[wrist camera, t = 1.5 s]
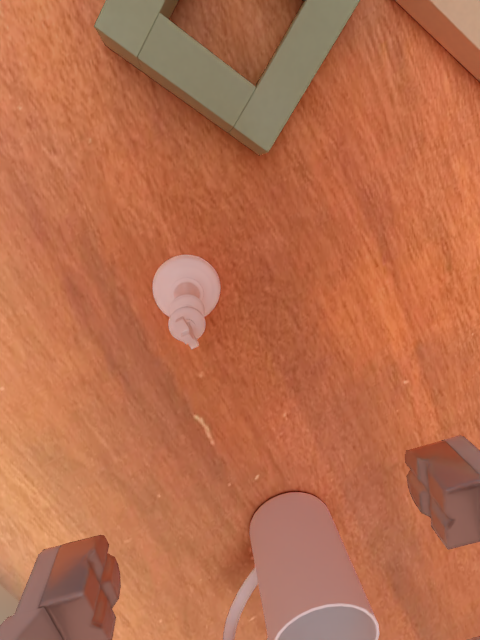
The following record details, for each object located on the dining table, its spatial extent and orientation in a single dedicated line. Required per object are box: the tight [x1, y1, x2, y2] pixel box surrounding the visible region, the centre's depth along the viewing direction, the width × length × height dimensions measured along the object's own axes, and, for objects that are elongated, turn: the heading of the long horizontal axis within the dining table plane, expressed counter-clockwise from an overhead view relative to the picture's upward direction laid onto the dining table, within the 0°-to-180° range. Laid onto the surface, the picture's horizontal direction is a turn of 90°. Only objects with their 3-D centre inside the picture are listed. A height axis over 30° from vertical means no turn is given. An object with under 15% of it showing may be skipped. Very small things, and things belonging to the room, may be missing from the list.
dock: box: [94, 0, 360, 155], centre depth 22 cm, size 11×11×3 cm
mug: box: [223, 492, 379, 640], centre depth 33 cm, size 12×8×10 cm, turn 123°
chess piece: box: [152, 255, 221, 349], centre depth 24 cm, size 5×5×10 cm
